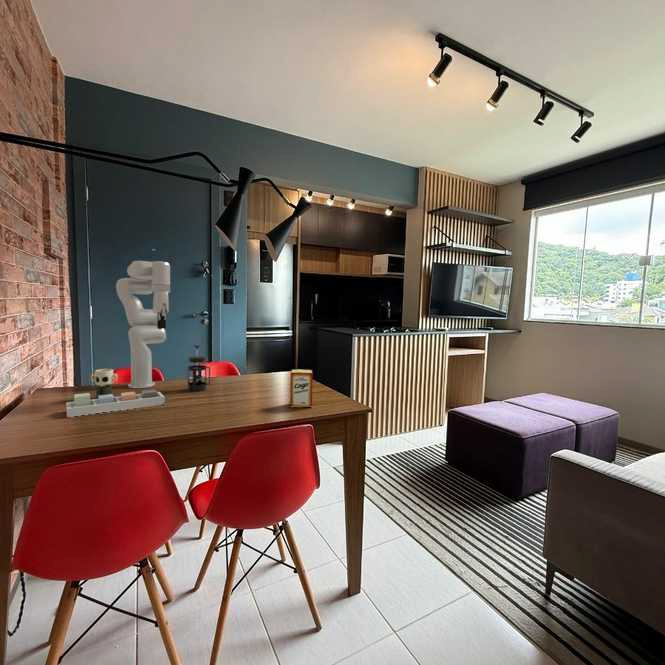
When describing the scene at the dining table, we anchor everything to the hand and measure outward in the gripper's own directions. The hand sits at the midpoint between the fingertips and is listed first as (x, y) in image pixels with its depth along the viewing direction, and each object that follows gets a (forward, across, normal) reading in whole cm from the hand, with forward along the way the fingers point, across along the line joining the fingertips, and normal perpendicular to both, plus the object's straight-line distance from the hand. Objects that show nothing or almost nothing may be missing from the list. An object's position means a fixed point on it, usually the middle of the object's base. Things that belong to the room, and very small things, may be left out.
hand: (161, 328), depth 163 cm
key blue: (+31, +9, -23) cm, 39 cm away
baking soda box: (+32, +47, +47) cm, 74 cm away
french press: (+32, -5, +18) cm, 37 cm away
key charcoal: (+31, +9, -7) cm, 33 cm away
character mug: (+32, -10, -22) cm, 40 cm away
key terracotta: (+31, +9, -15) cm, 35 cm away
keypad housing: (+32, +9, -19) cm, 38 cm away
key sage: (+29, +9, -31) cm, 43 cm away
